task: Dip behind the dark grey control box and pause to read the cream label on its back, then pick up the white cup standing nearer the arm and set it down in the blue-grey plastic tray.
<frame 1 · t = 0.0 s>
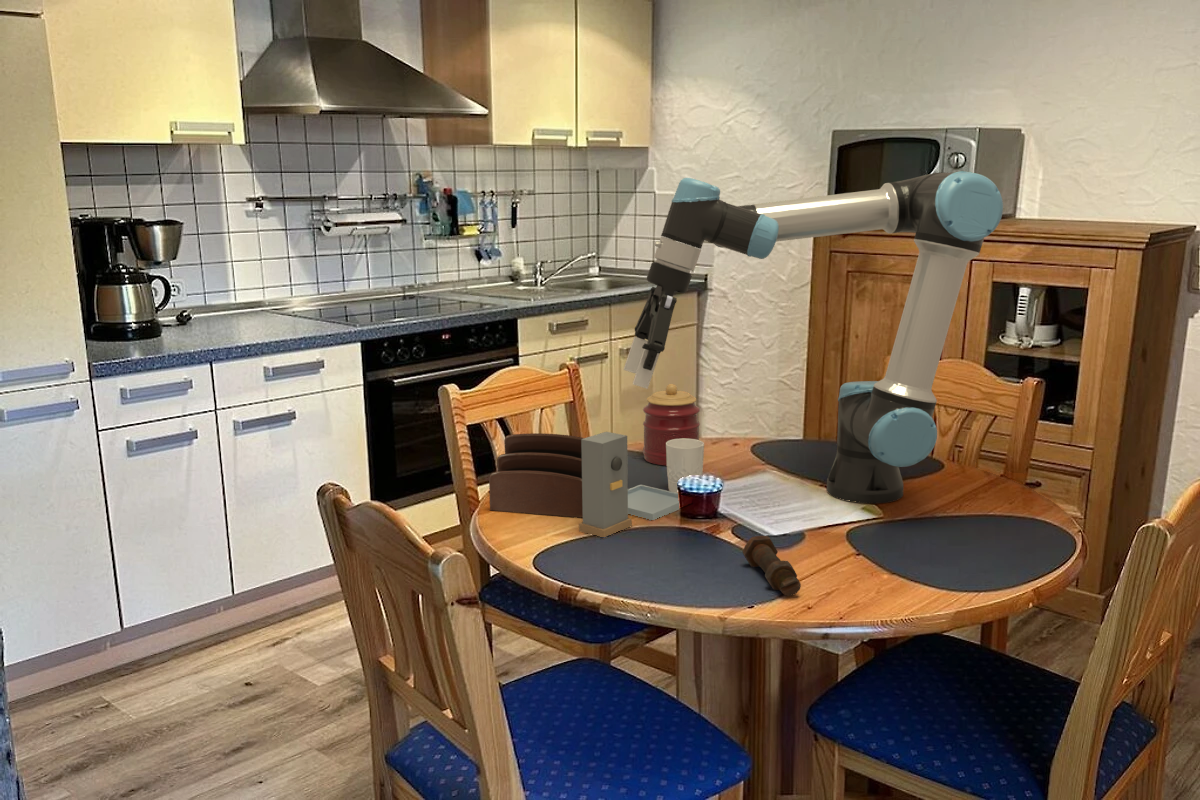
hand: (635, 378, 180), 28 cm above the table, tool tilted 20°, fingers open, 13 cm apart
control box: (605, 528, 184), on the table
canister: (671, 459, 230), on the table
tray: (646, 505, 198), on the table
white cup: (684, 490, 207), on the table
letter holder: (545, 508, 198), on the table
bolt: (773, 582, 160), on the table
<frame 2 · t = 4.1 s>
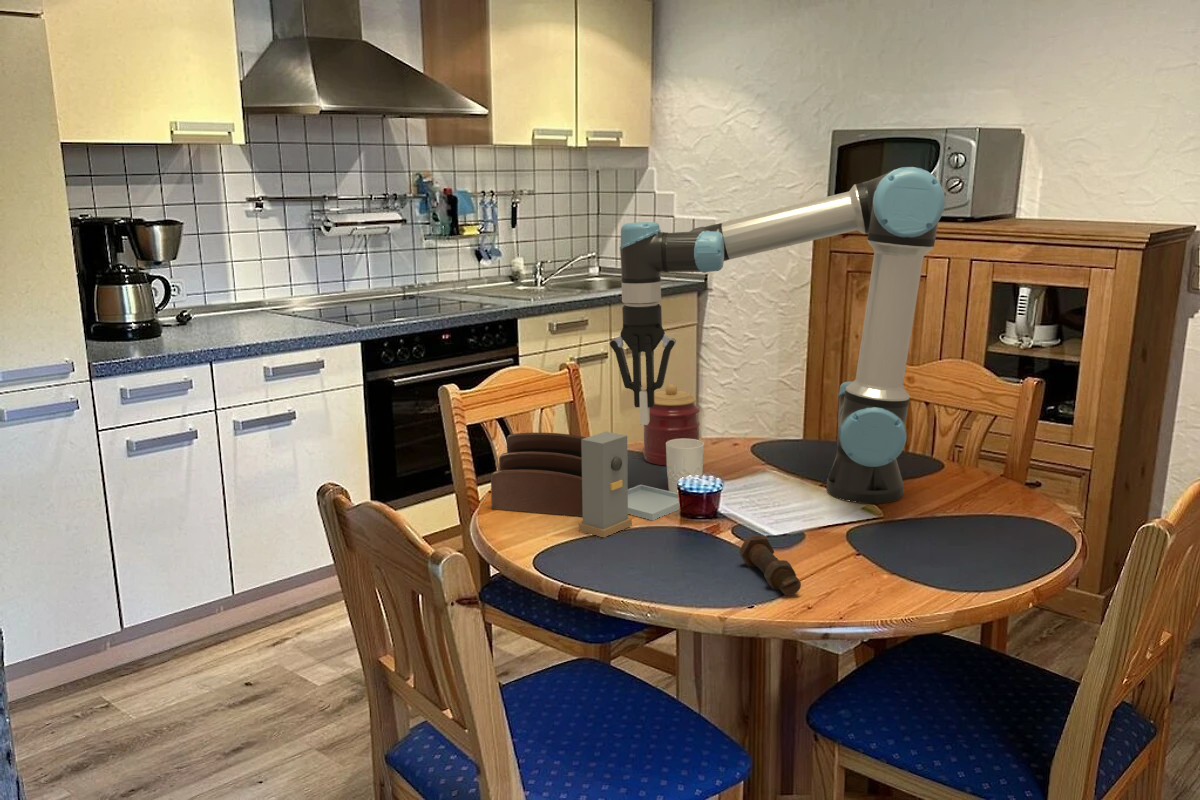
hand: (644, 423, 196), 16 cm above the table, tool pointing down, fingers closed
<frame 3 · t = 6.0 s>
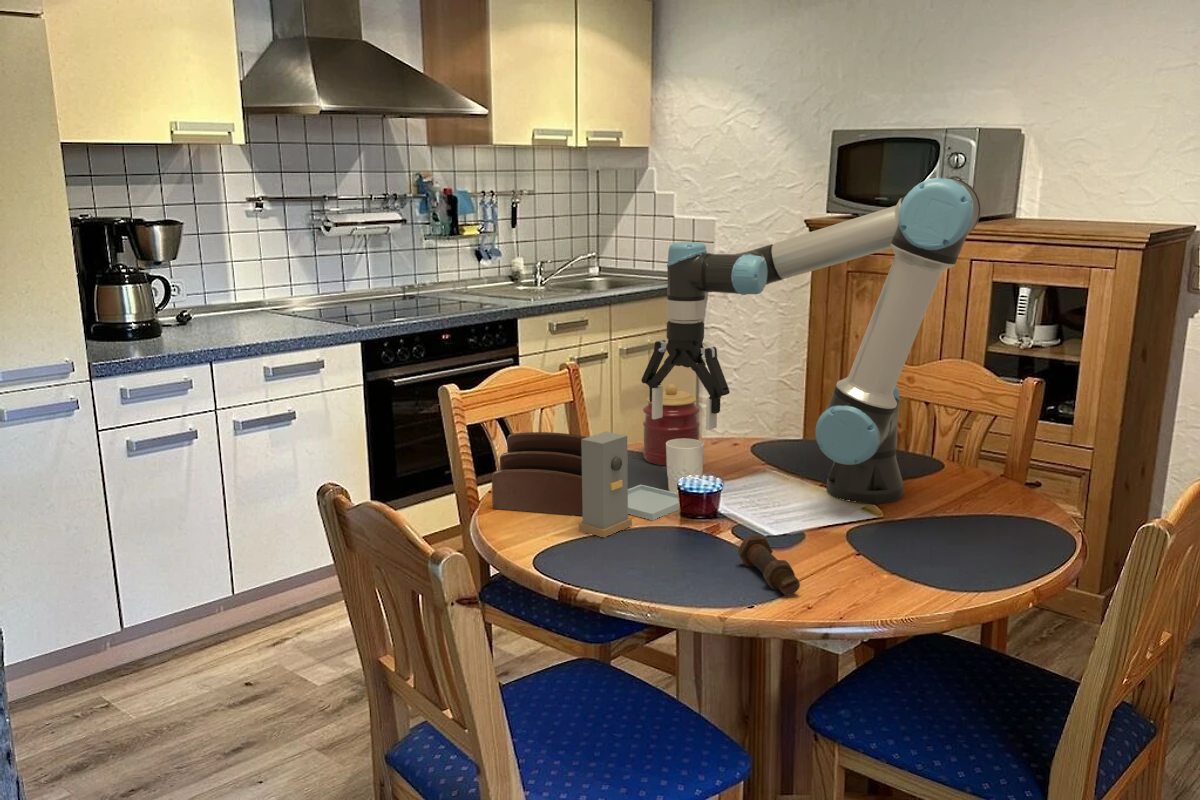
hand: (683, 423, 204), 14 cm above the table, tool pointing down, fingers open, 13 cm apart
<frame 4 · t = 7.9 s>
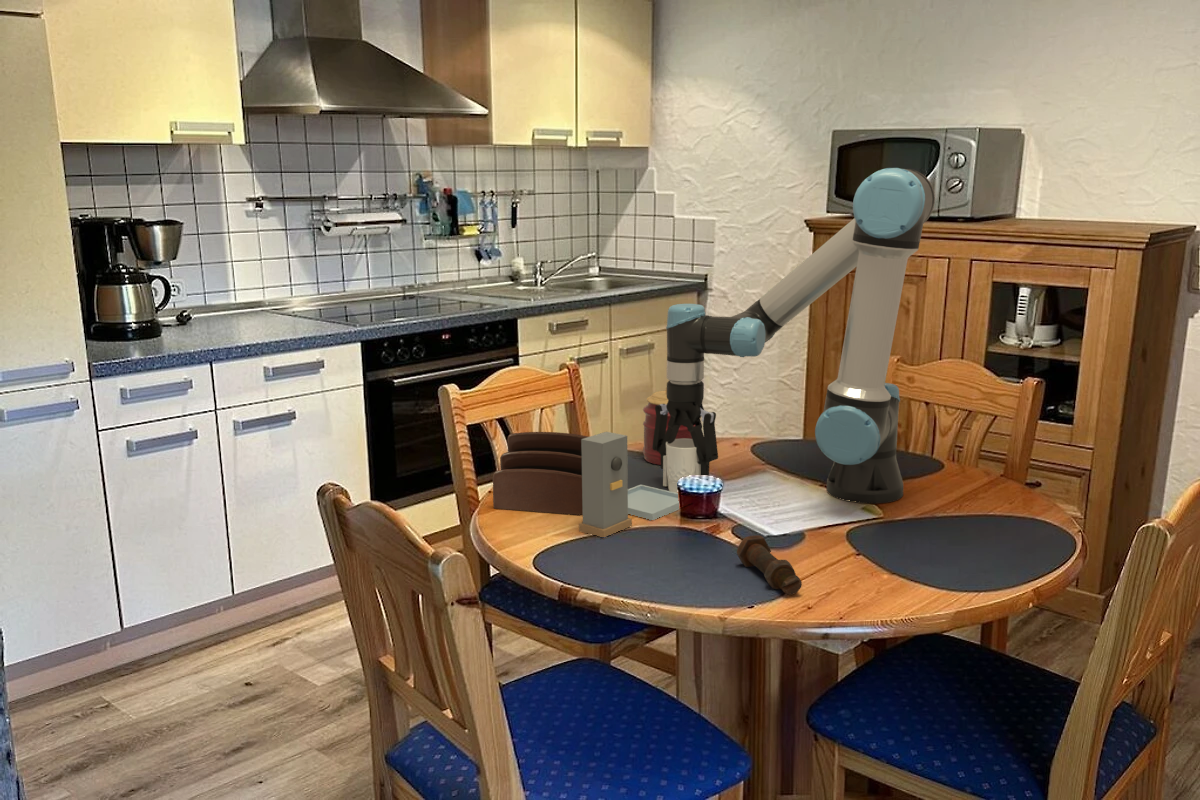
hand: (684, 488, 207), 0 cm above the table, tool pointing down, fingers closed on white cup, 7 cm apart
white cup: (684, 490, 207), on the table, touching gripper
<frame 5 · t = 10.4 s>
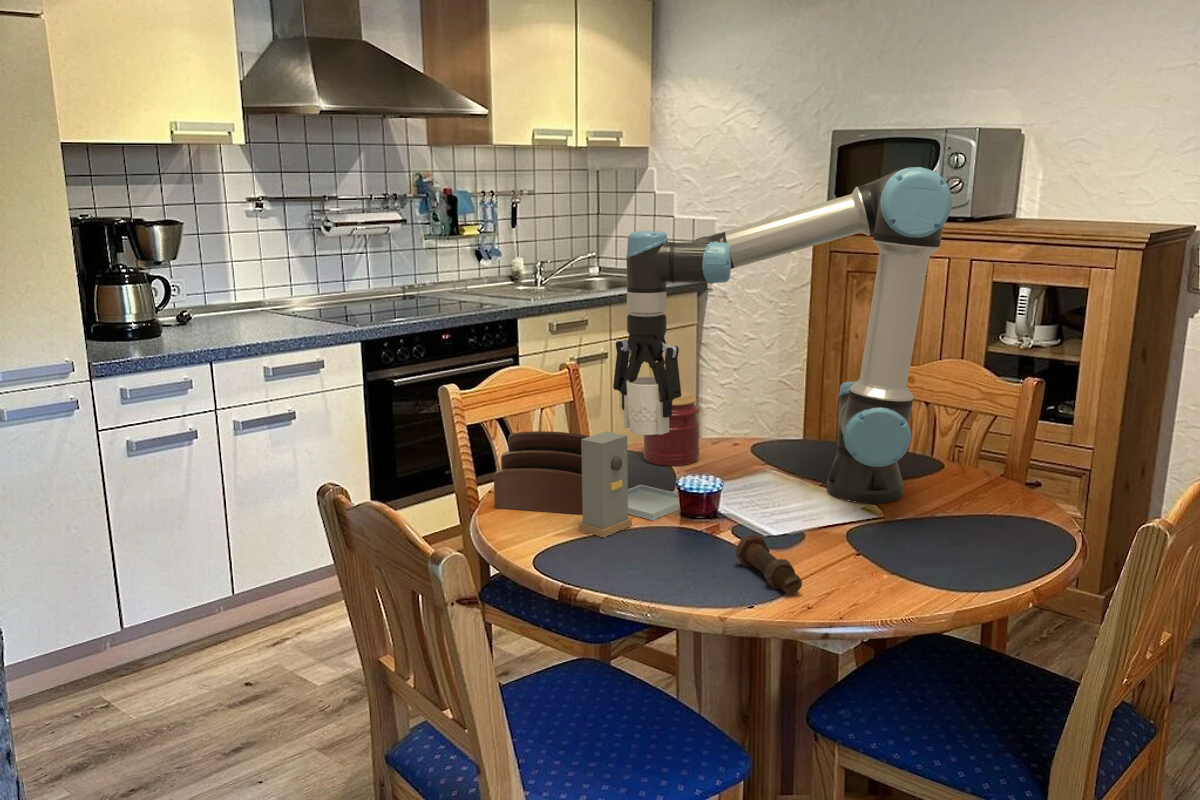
hand: (646, 429, 195), 15 cm above the table, tool pointing down, fingers closed on white cup, 7 cm apart
white cup: (646, 432, 195), point 15 cm above the table, touching gripper
when the fingers open (3 cm above the table, at t = 13.3 s): white cup drops 1 cm, resting on tray.
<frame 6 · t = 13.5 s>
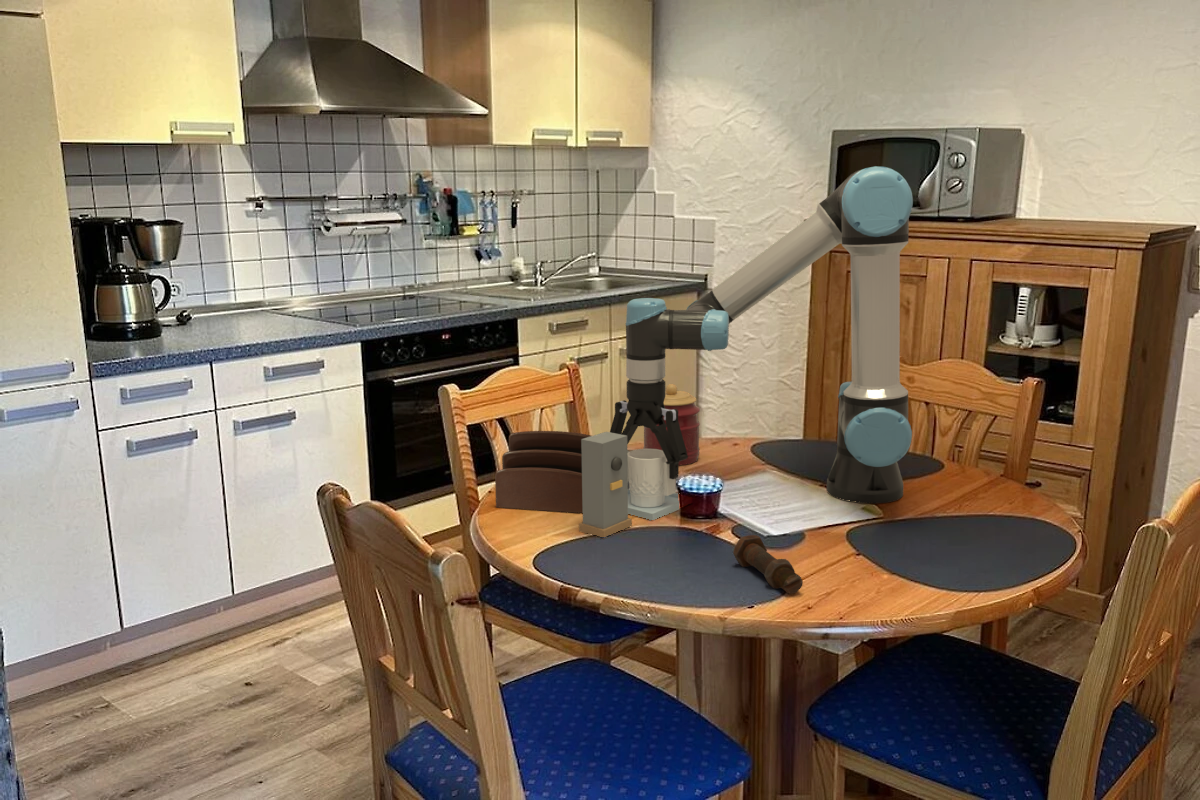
hand: (646, 488, 197), 3 cm above the table, tool pointing down, fingers open, 11 cm apart
white cup: (647, 503, 197), resting on tray
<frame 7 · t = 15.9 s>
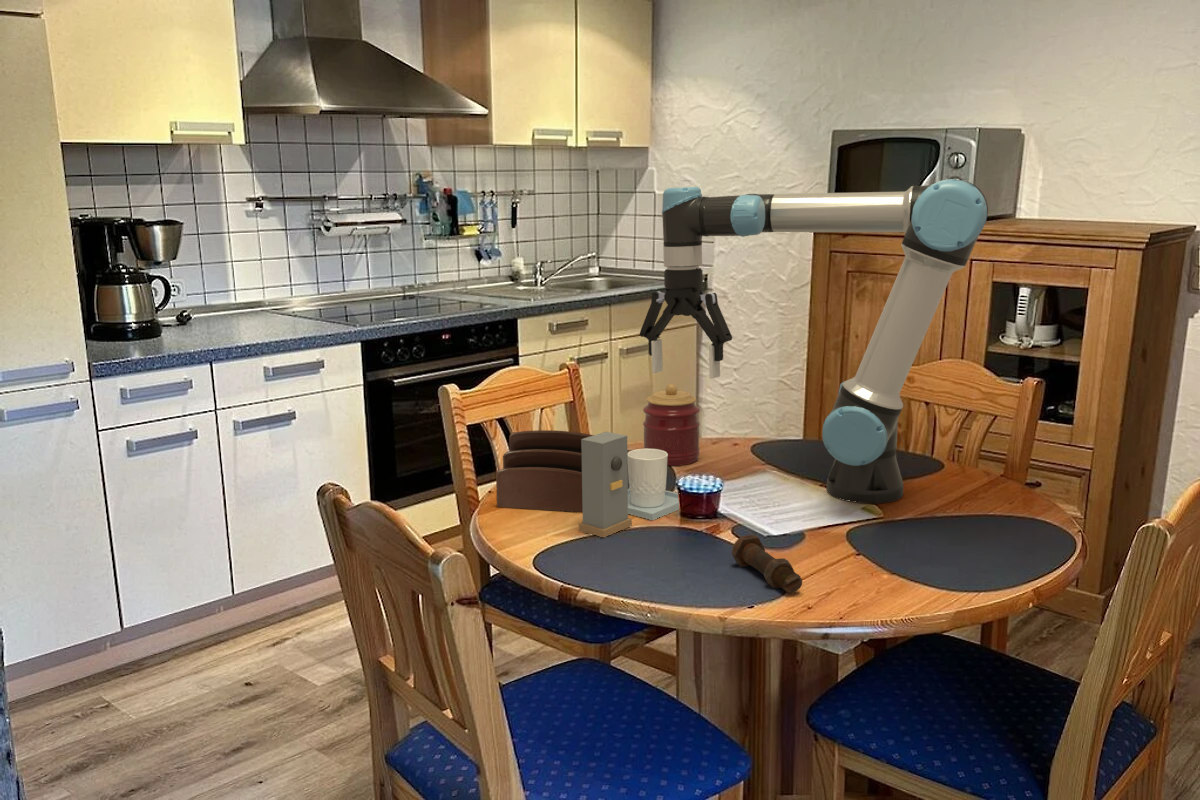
hand: (685, 374, 199), 25 cm above the table, tool pointing down, fingers open, 13 cm apart
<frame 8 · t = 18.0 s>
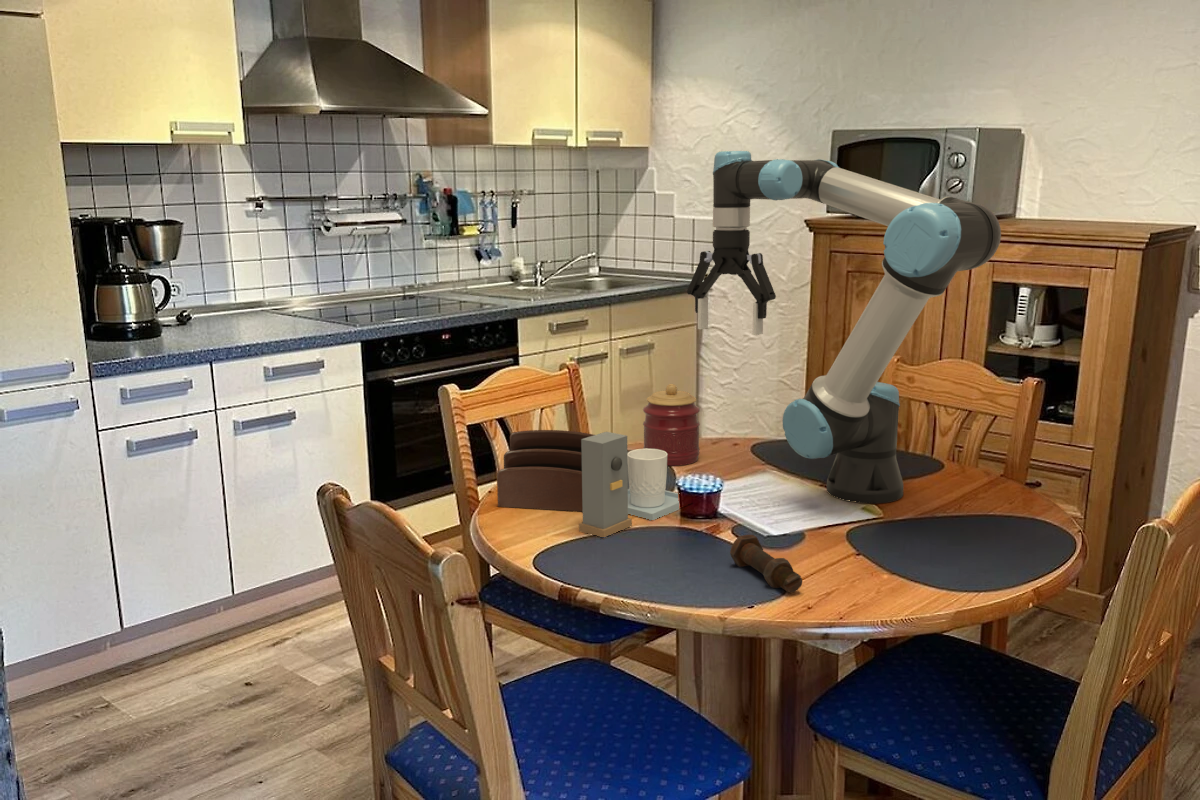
hand: (729, 331, 209), 32 cm above the table, tool pointing down, fingers open, 13 cm apart
at the end: white cup inside the target area on the tray (0.3 cm from its centre), point 0.4 cm above the tray's base; white cup tilted 0°; the gripper is holding nothing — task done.
